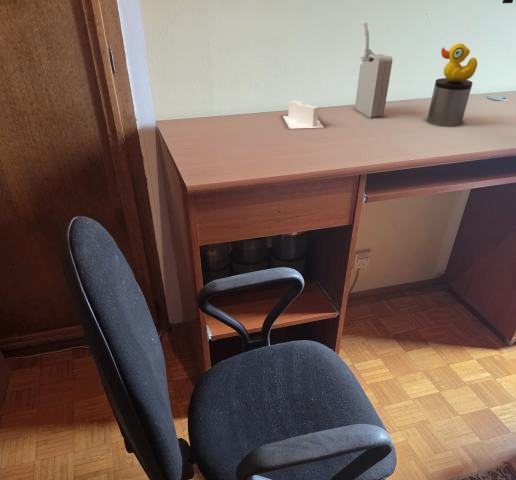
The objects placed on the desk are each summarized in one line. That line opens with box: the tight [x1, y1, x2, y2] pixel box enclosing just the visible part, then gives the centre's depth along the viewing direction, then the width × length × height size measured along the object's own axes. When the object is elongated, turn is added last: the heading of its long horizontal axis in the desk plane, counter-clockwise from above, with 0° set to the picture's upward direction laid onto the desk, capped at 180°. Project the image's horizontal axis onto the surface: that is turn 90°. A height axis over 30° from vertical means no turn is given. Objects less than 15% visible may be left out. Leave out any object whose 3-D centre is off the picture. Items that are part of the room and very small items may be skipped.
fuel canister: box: [354, 22, 394, 119], centre depth 150 cm, size 15×5×25 cm, turn 16°
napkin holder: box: [282, 99, 324, 130], centre depth 147 cm, size 15×11×6 cm
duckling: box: [440, 43, 478, 82], centre depth 137 cm, size 11×5×10 cm, turn 78°
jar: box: [426, 77, 473, 127], centre depth 145 cm, size 11×11×12 cm
